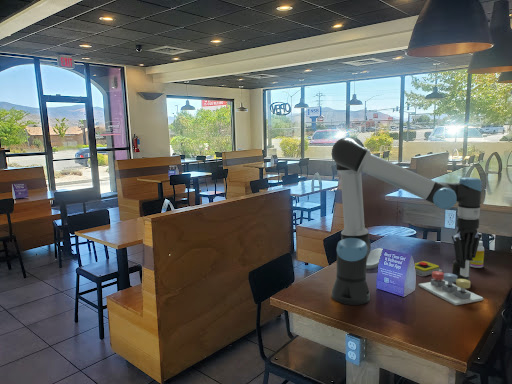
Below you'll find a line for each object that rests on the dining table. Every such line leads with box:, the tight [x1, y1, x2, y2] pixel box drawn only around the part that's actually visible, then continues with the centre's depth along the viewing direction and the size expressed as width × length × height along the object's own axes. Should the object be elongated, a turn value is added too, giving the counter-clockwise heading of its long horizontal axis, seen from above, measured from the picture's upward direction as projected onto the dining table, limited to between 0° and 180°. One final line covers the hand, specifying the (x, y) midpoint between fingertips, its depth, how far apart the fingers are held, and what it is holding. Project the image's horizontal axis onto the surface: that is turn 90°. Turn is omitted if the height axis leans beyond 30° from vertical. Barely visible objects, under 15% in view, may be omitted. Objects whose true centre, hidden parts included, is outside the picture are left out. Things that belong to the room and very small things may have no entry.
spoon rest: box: [366, 247, 383, 270], centre depth 195 cm, size 24×12×7 cm, turn 131°
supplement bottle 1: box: [451, 257, 471, 284], centre depth 170 cm, size 7×7×12 cm
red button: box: [431, 271, 445, 282], centre depth 165 cm, size 5×5×4 cm
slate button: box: [444, 272, 457, 285], centre depth 159 cm, size 5×5×4 cm
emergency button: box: [415, 260, 443, 277], centre depth 185 cm, size 9×4×15 cm
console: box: [418, 278, 484, 306], centre depth 159 cm, size 14×20×3 cm
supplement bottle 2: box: [470, 240, 485, 269], centre depth 190 cm, size 7×7×13 cm
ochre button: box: [455, 279, 471, 291], centre depth 153 cm, size 5×5×4 cm
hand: (464, 275), depth 152 cm, fingers closed
